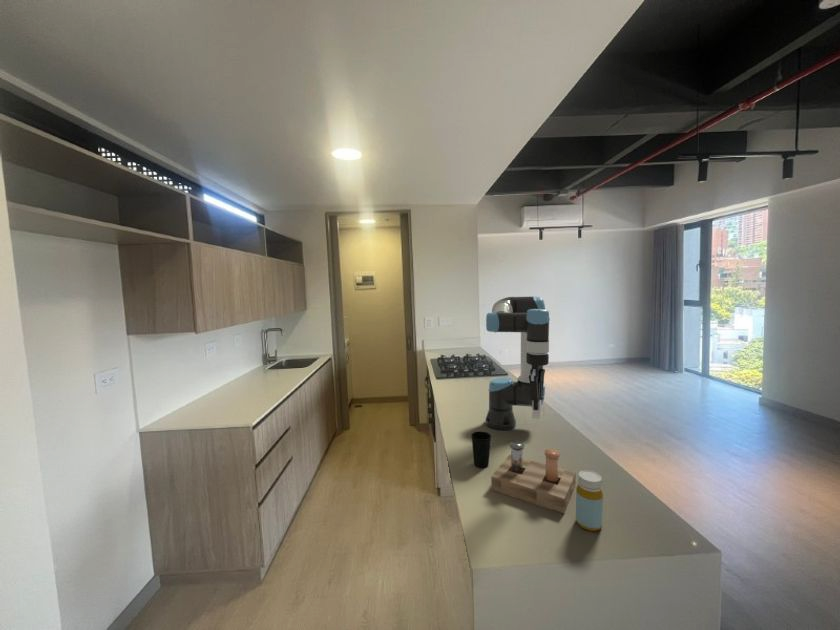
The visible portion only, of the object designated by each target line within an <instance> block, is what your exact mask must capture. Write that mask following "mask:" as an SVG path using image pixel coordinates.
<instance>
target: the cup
mask: <svg viewBox="0 0 840 630" xmlns="http://www.w3.org/2000/svg"><path fill="white" fill-rule="evenodd" d="M470 435H471V444H472V455H473V464H474V466H475V467H476V468H478V469H486V468H488V467H489V463H490V453H491V442H492V435H491V433H489V432H487V431H475V432H472V434H470Z"/></svg>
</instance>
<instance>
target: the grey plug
mask: <svg viewBox="0 0 840 630" xmlns="http://www.w3.org/2000/svg"><path fill="white" fill-rule="evenodd" d="M509 447H510V448H511V451H510V452H511V453H510V455H511V468H512V469H513V470H515V471H521V470H523V458H524V448H525V444H524V442H522V441H519V440H512V441H510V443H509Z"/></svg>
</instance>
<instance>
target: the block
mask: <svg viewBox="0 0 840 630" xmlns="http://www.w3.org/2000/svg"><path fill="white" fill-rule="evenodd" d="M499 465H500V466H499V467H498V468H497V469H495V471H494V473H493V474H492V475H491V479H490V480H491V484H490V485H491V491H493V492H497V493H500V494H503V495H506V496H510V497H511V498H514V499H517V500H518V499H519V500H521V501H524V502H527V503H530V504H533V505H536V506H538V507H542V508H545V509H547V510H551V511H555V512H558V513H560V514H564V515H565V513H566V510H567V508H568V505H569V503H570V501H571V499H572V495H573V493H574V491H575V488H576V480H577V478H576V477H577V473H576V471H572V470H569V469H564V468H561V467H558V480H557V481H550V480H548V479H546V477H545V475H546V463H542V462H538V461H534V460H530V459H528V458H527V459H526V458H524V457H523V470H521V471H515V470H513V469H512V468H511V454H508V456H507V457H505V459H504V460H503V461H502V463H501V464H499Z"/></svg>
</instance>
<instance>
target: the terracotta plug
mask: <svg viewBox="0 0 840 630" xmlns="http://www.w3.org/2000/svg"><path fill="white" fill-rule="evenodd" d="M560 455H561V453H560V451H559V450H556V449H552V448H547V449H545V450H544V456H545V464H546V475H545V477H546V479H548V480H550V481H557V480H558V468H559V458H560Z"/></svg>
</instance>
